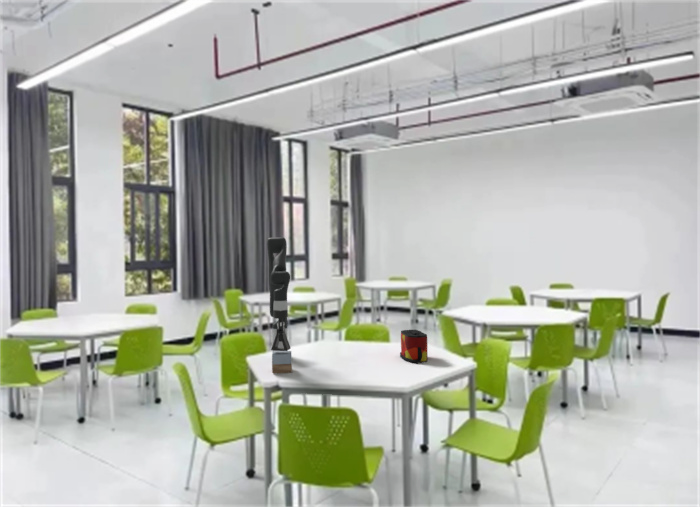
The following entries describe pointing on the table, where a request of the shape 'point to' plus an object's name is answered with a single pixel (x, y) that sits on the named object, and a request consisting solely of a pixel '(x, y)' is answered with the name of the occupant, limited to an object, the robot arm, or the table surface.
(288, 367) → the tower bottom
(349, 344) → the table surface
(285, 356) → the tower top
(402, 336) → the bag
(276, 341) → the phone stand
